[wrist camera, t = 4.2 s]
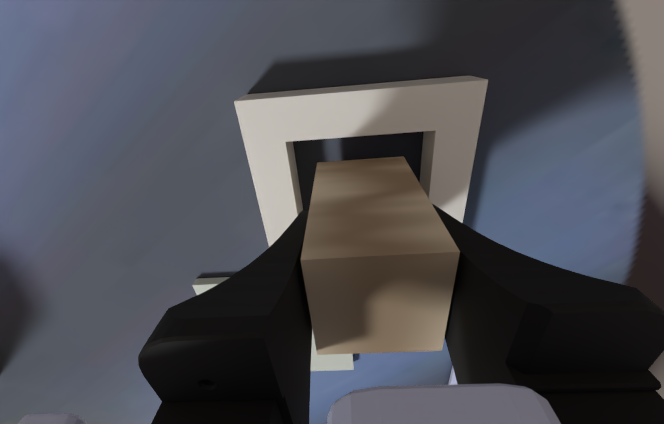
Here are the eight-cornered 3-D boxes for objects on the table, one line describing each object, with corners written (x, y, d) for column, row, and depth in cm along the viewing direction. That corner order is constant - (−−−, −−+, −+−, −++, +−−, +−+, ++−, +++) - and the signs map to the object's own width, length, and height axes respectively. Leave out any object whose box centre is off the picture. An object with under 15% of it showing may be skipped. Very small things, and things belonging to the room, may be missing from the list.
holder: (469, 75, 12) (488, 79, 11) (442, 253, 18) (453, 274, 16) (246, 94, 13) (234, 101, 12) (282, 262, 18) (277, 282, 17)
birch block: (403, 156, 13) (460, 251, 7) (400, 228, 15) (441, 350, 9) (317, 162, 13) (300, 260, 7) (325, 232, 15) (317, 354, 9)
